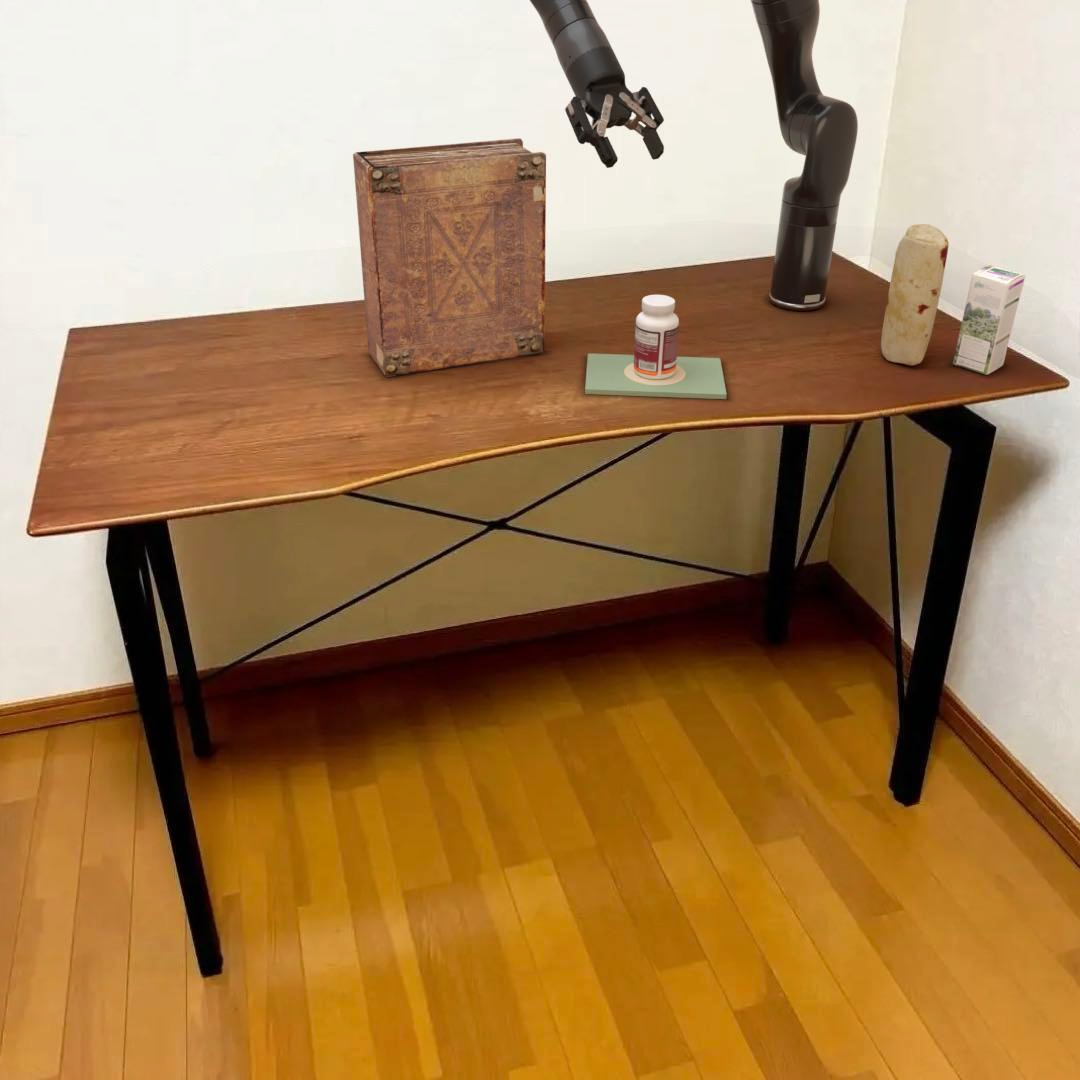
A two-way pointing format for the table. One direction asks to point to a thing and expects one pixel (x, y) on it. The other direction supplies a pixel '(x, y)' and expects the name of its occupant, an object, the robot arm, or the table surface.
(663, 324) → the pill bottle
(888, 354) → the food model
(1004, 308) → the syrup box
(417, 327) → the book
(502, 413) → the table surface
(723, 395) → the mat
